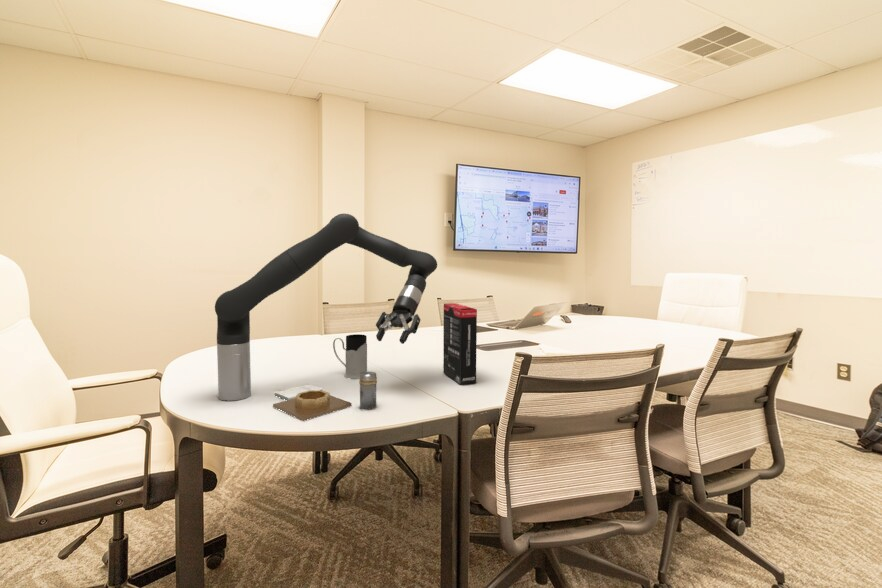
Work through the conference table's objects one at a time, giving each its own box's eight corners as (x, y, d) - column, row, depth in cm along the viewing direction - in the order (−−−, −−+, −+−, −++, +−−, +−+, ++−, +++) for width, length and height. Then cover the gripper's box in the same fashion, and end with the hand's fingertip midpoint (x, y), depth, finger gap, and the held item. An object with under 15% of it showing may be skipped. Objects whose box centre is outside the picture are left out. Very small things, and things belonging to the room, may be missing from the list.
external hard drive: (274, 397, 137) (308, 388, 146) (288, 402, 132) (322, 393, 141) (274, 392, 137) (308, 383, 146) (288, 397, 131) (322, 388, 141)
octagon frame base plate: (273, 407, 126) (272, 395, 126) (320, 394, 138) (320, 384, 138) (303, 421, 116) (303, 408, 115) (351, 406, 128) (351, 394, 128)
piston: (355, 407, 127) (355, 373, 126) (369, 402, 131) (369, 370, 130) (367, 411, 124) (366, 377, 123) (380, 406, 128) (380, 373, 127)
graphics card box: (477, 384, 152) (479, 307, 150) (459, 386, 150) (460, 308, 147) (457, 372, 168) (459, 302, 166) (441, 373, 165) (442, 303, 163)
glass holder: (360, 380, 155) (360, 338, 154) (327, 376, 160) (326, 336, 159) (372, 374, 164) (372, 335, 163) (339, 370, 168) (339, 332, 167)
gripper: (385, 293, 146) (366, 332, 137) (422, 295, 140) (405, 336, 131) (394, 307, 152) (375, 345, 142) (430, 310, 146) (413, 349, 136)
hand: (389, 341), depth 137 cm, fingers open, 8 cm apart
